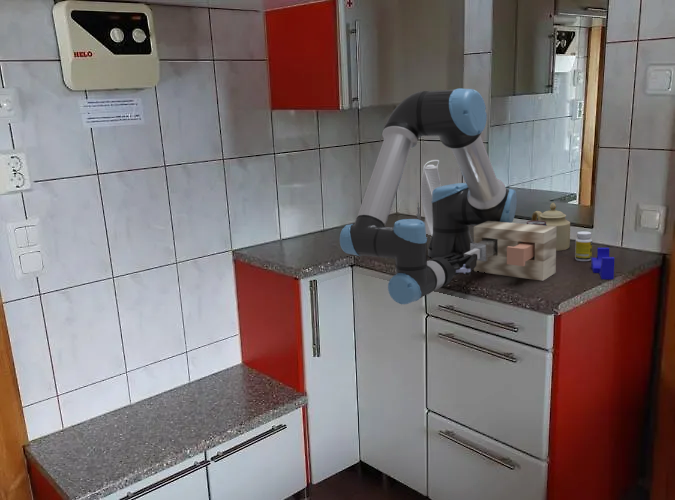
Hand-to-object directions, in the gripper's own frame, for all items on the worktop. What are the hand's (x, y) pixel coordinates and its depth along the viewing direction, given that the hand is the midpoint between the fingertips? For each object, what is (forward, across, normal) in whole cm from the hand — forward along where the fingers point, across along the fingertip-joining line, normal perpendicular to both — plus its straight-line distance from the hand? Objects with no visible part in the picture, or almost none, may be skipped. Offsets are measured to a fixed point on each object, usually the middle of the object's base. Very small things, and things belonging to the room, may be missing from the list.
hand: (477, 253), depth 176 cm
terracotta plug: (+7, +11, -2) cm, 13 cm away
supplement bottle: (+34, +18, -8) cm, 39 cm away
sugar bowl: (+45, +2, -8) cm, 45 cm away
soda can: (+27, +6, -8) cm, 28 cm away
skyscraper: (+44, -42, -8) cm, 62 cm away
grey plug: (+7, 0, -2) cm, 7 cm away
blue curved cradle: (+22, +27, -8) cm, 36 cm away
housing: (+12, +5, -8) cm, 15 cm away
